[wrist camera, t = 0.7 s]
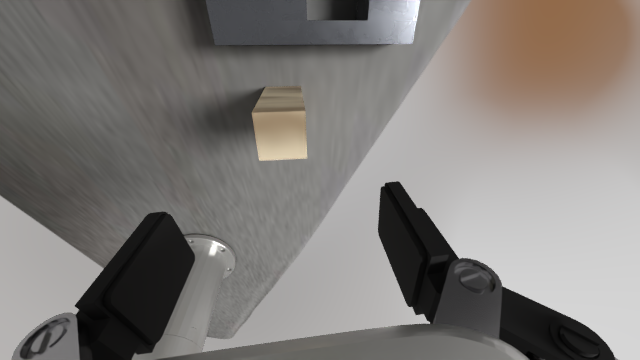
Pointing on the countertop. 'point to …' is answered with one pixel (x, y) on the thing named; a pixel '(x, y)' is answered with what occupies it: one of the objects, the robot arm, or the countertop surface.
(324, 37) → the rail
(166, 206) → the countertop surface
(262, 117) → the peg
